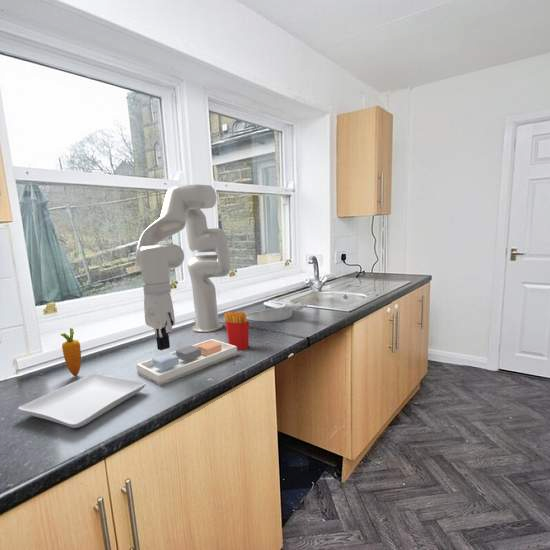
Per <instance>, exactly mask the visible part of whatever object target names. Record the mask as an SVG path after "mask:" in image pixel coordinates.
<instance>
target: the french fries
mask: <svg viewBox="0 0 550 550" xmlns="http://www.w3.org/2000/svg"><path fill="white" fill-rule="evenodd" d="M223 315H224V318H225V321H224V323H225V328H226V333H227V334H226V335H227V341H228V344H231V345H234V346H237V351H238V350H239V351H242V350H243V351H244V350H246V349H248V348H249V333H250V332H249V330H250V327H249V325H250V323H249V321H250V320H248V319H247V315H246V313H245V312H244V311H243V312H242V311H239V312H238V311H233V312H231V311H225V312H224V313H223Z"/></svg>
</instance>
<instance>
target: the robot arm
mask: <svg viewBox="0 0 550 550" xmlns="http://www.w3.org/2000/svg"><path fill="white" fill-rule="evenodd" d="M163 201H164V202H163V204H162V208H161V213H160V217H159V218H158V219H156V220H155V221H154V222H152V223H151V224H150V225H149V226H148V227H147V228H146V229H145V230H144V231H143V232H142V234H141V235H140V237H139V240H138V243H137V247H136V250H135V251H136V252H135V261H136V264H137V265H138V267H139V268H140V270H141V278H142V288H143V289H142V290H143V296H144V297H143V306H144V307H143V308H144V322H145V324H146V326H148V327H151V328H152V329H153V331H154V334H155V336H156V337H155V338H156V348H157V350H159V351H163V350H167V349H170V347H171V345H170V332H173V326H174V325H175V324H176V322H175V321H176V319H175V312H174V311H175V309H174V305H173V304H174V303H173V300H172V296H171V295H172V294H171V292H172V290H171V280H170V270H169V269H175V268H179V267H180V266H181V265H182V264H183V263H184V259H185V252H184V250H183V249H182V247H181V246H179V245H178V244H175V243H172V244H171V243H170V244H169V243H166V244H165V243H164V244H158V243H159V242H161V241H162V240H164V239H167V238H168V237H171V236H174V235H175V234H178V233H179V232H181V231H183V229H184V228H185V230H186V237H187V244H188V248H189V250H190V251H191V252H192V253H213V252H214V253H216V254H203V255H199V254H198V255H194V256H192V257H190V258H189V260H188V262H187V270H188V273H189V277H190V282H191V289H192V296H193V297H192V298H193V307H194V314H195V315H194V316H195V318H193V319H192V321H193V322H194V323H195V325H193V326H192V330H193V331H194V332H196V333H209V332H211V333H212V332H214V331H218V330H220V329H222V328H223V323H221V322H219V315H218V314H219V313H218V304H217V302H218V301H217V295H216V294H217V291H216V286H215V284H214V282H213V281H211V279H210V278H224V277H228V276H229V274H230V273H231V260H230V259H231V258H230V253H229V252H230V251H229V245H228V237H227V235H226V232H225V230H224V229H222V228H217V227H215V228H208V223H207V217H206V214H205V213H204V212H203V211H202V209H204V210H205V209H212V208H214V207H215V206H216V203H217V192H216V190H215V189H214V187H213V186H212V185H208V184H188V185H187V184H186V185H176V186H172V187H170V188H169V189H168V190H167V191H166V194H165V197H164V200H163Z"/></svg>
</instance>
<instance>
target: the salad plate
mask: <svg viewBox="0 0 550 550" xmlns="http://www.w3.org/2000/svg"><path fill="white" fill-rule="evenodd" d="M146 385H147V383H146V382H143V381H141V380H139V381H138V380H135V379H128V378H123V377H118V376H112V375H108V374H100V373H91V374H89V375H87V376H85V377H82V378H80V379H78V380H75V381H73V382H71V383H68V384H65V385H63V386H62V387H59V388H56V389H54V390H53V391H50V392H48V393H46V394H44V395H42V396H39V397H38V398H35V399H33V400H31V401H29V402H27V403H24V404H22V405H20V406H18V407H17V410H18V411H19V412H21V413H23V414H25V415H28V416H32V417H36V418H40V419H43V420H47V421H50V422H54V423H57V424H59V425H60V424H61V425H64V426H67V427H69V428H72V429H77V428H82V427H83V426H86V425H88V424H89V423H90V422H92V421H93V420H95V419H97V418H99V417H100V416H102V415H104V414H105V413H107V412H108V411H110V410H112V409H113V408H115V407H117V406H118V405H120V404H122V403H123V402H125V401H126V400H128V399H130V398H132V397H134V396H135V395H137V394H138V393H140V392H141V391H142V390H143V389H144V388H145V386H146Z"/></svg>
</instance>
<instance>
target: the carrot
mask: <svg viewBox="0 0 550 550" xmlns="http://www.w3.org/2000/svg"><path fill="white" fill-rule="evenodd" d="M74 334H75V332H74V328H69V334H67V333H66V332H63V333H60V336H61V337H63V338H64V339H65V340H66V341H64V342H63V343H62V344H61V349H62V354H63V357H64V358H63V359H64V361H65V364H66V366H67V369H68V371H69V372H70V374H71V375H72V376H73V377H78V375H79V373H80V369H81V365H82V364H81V362H82V352H81V351H82V350H81V344H80V341H79V340H78V339H74Z"/></svg>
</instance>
